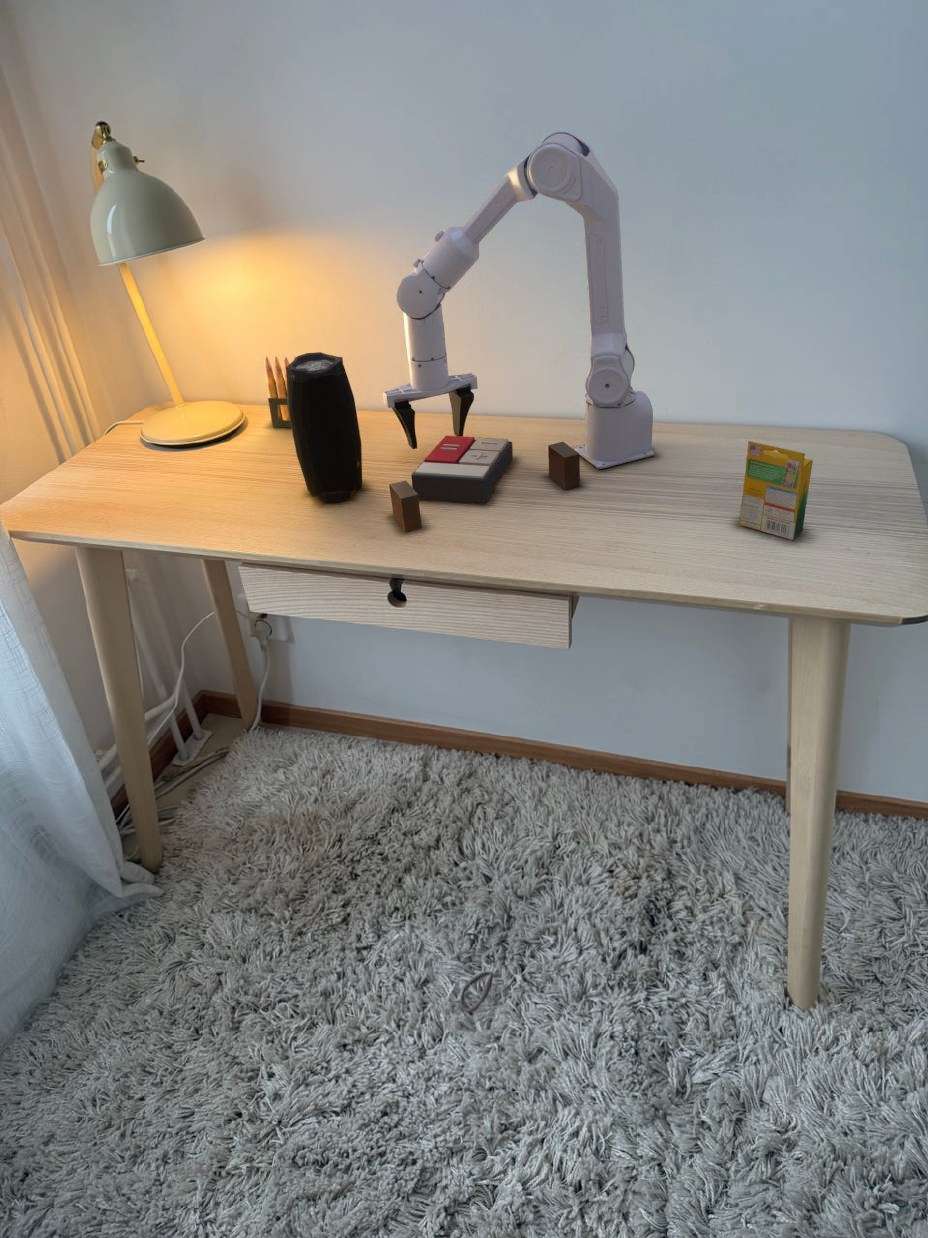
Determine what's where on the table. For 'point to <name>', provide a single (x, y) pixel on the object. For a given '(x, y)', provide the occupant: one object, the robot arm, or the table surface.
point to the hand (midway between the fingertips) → (435, 441)
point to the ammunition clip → (277, 393)
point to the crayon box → (775, 490)
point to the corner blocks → (560, 470)
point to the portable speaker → (324, 425)
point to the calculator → (463, 469)
